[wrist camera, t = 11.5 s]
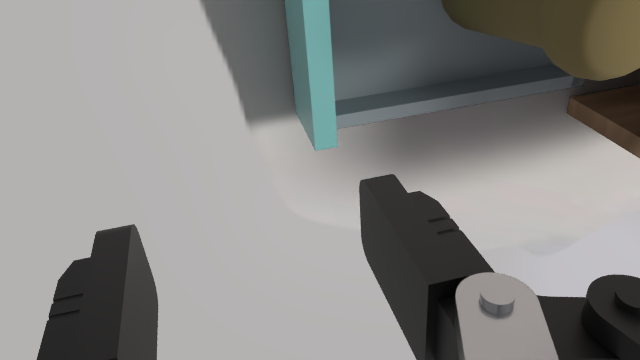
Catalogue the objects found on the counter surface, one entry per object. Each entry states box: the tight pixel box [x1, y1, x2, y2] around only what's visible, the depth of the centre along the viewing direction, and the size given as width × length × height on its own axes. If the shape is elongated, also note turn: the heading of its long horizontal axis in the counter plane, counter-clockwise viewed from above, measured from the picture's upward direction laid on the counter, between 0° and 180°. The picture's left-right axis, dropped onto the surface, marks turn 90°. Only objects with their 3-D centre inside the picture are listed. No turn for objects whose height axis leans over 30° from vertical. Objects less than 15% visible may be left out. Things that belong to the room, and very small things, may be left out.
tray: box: [284, 0, 584, 151], centre depth 27 cm, size 12×17×5 cm
